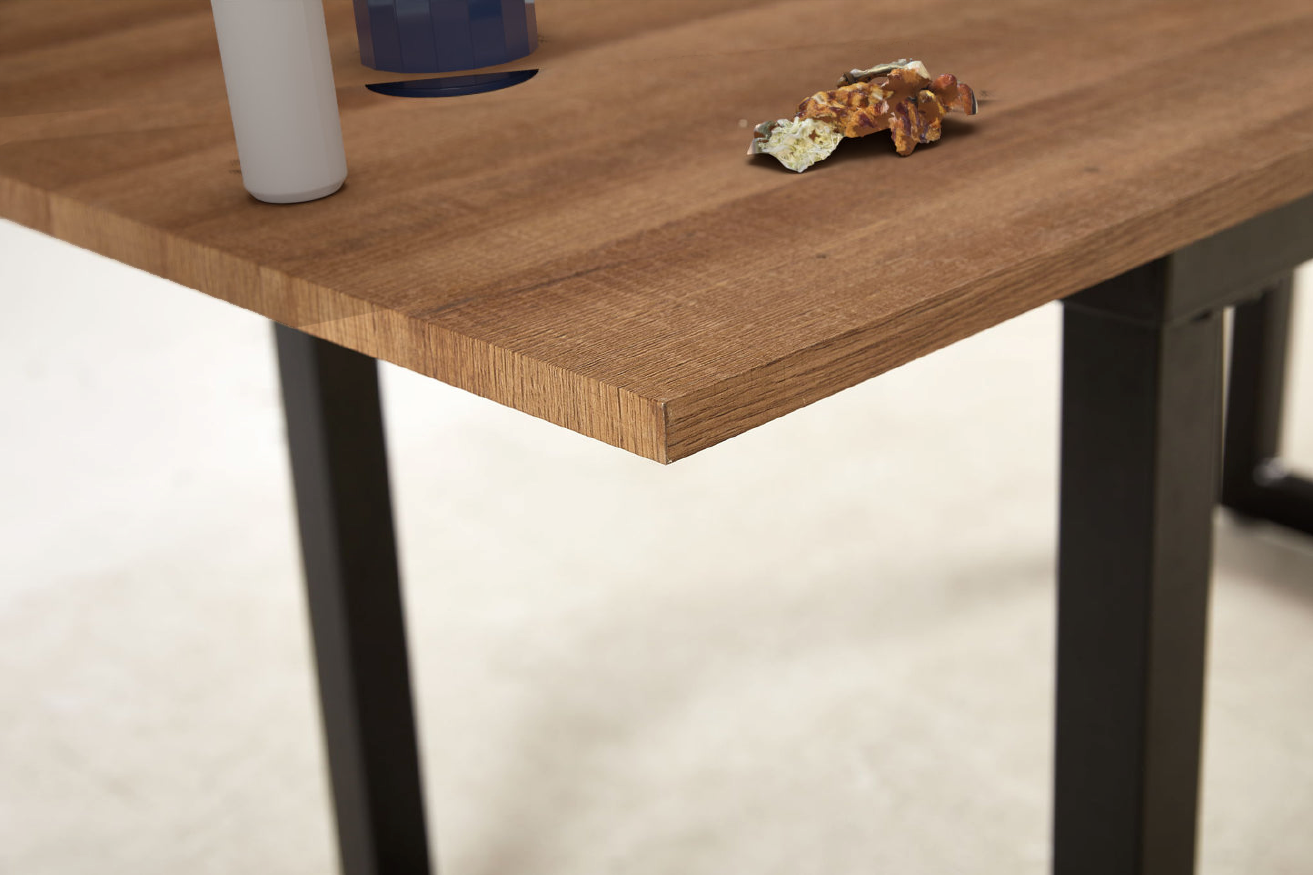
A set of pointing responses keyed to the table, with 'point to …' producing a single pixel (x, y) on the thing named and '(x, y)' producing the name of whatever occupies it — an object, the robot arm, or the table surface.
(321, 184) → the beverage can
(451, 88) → the pot
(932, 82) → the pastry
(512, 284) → the table surface
